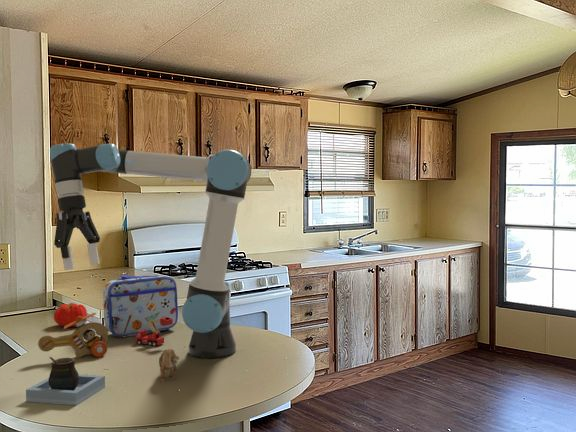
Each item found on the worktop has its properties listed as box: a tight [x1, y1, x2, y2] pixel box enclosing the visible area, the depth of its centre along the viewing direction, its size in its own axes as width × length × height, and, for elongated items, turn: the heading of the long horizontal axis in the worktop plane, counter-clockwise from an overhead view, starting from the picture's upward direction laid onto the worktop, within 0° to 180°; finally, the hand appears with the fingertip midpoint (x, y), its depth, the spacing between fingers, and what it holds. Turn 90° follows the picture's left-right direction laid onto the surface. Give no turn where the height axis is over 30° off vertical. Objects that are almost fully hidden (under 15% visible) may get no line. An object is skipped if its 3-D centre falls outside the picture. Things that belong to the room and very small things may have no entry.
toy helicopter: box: [37, 312, 109, 359], centre depth 175 cm, size 8×21×14 cm, turn 121°
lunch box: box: [102, 274, 179, 338], centre depth 206 cm, size 28×10×22 cm, turn 122°
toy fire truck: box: [135, 317, 173, 347], centre depth 190 cm, size 3×14×10 cm, turn 68°
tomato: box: [53, 302, 88, 328], centre depth 219 cm, size 13×12×8 cm
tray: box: [25, 373, 106, 406], centre depth 143 cm, size 14×13×3 cm
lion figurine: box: [158, 348, 180, 382], centre depth 157 cm, size 15×5×9 cm, turn 16°
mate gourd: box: [48, 356, 79, 391], centre depth 142 cm, size 7×8×10 cm
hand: (82, 267), depth 164 cm, fingers open, 13 cm apart
